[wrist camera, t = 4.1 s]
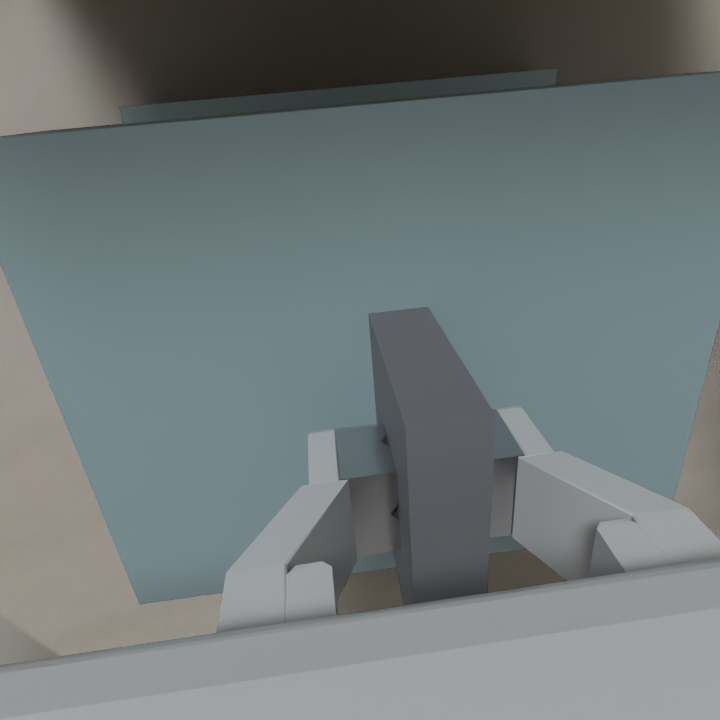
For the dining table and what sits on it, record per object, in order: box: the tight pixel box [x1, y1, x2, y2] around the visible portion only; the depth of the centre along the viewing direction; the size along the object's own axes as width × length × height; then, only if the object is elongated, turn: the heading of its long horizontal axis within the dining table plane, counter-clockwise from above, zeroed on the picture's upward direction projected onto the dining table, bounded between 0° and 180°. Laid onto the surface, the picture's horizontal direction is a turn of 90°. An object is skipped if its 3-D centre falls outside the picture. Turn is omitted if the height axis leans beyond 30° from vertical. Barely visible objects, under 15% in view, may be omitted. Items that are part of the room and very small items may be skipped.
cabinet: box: [0, 68, 720, 605], centre depth 14 cm, size 11×14×15 cm
